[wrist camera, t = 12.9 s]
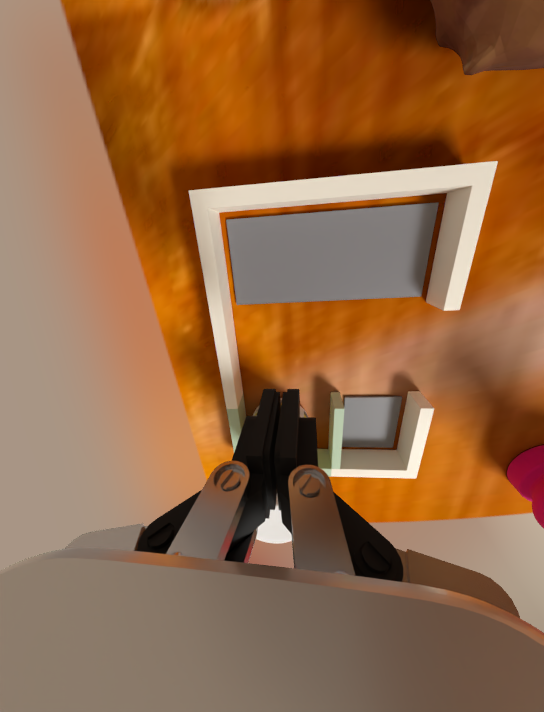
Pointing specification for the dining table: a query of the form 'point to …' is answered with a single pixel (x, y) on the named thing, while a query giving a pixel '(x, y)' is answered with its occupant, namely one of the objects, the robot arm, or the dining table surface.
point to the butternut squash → (492, 33)
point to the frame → (343, 282)
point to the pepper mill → (530, 478)
